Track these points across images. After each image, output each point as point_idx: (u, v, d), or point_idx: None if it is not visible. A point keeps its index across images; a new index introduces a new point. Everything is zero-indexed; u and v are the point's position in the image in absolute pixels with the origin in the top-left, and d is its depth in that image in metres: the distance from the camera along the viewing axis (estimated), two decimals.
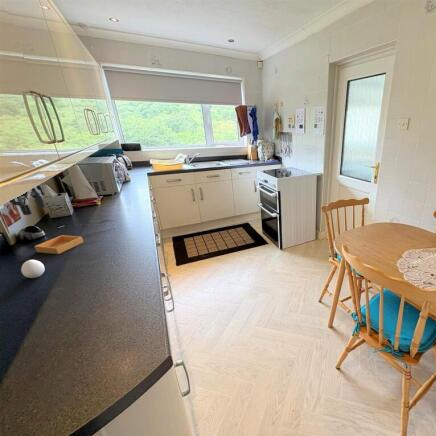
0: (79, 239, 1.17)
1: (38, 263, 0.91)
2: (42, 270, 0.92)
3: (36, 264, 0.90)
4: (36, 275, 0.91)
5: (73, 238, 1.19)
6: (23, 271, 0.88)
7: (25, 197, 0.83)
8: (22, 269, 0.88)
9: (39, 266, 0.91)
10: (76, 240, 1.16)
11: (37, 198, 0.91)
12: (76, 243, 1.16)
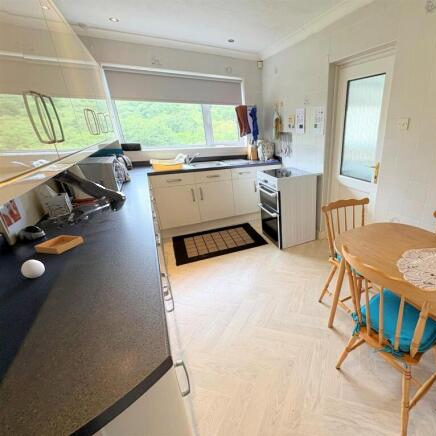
0: (79, 239, 1.17)
1: (38, 263, 0.91)
2: (42, 270, 0.92)
3: (36, 264, 0.90)
4: (36, 275, 0.91)
5: (73, 238, 1.19)
6: (23, 271, 0.88)
7: None
8: (22, 269, 0.88)
9: (39, 266, 0.91)
10: (76, 240, 1.16)
11: (52, 221, 1.00)
12: (76, 243, 1.16)
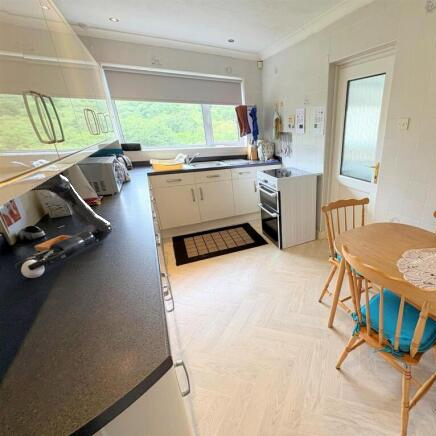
0: None
1: None
2: (42, 270, 0.92)
3: None
4: (36, 275, 0.91)
5: None
6: (23, 271, 0.88)
7: None
8: (22, 269, 0.88)
9: None
10: None
11: None
12: None
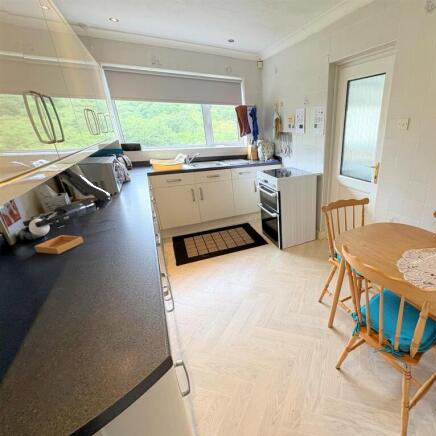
0: (79, 239, 1.17)
1: None
2: (47, 228, 1.01)
3: None
4: (42, 232, 1.00)
5: (73, 238, 1.19)
6: (30, 228, 0.98)
7: None
8: (29, 226, 0.98)
9: None
10: (76, 240, 1.16)
11: None
12: (76, 243, 1.16)
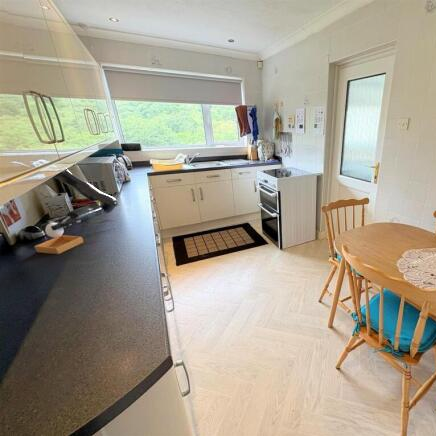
0: (79, 239, 1.17)
1: None
2: (62, 231, 1.12)
3: None
4: (57, 235, 1.11)
5: (73, 238, 1.19)
6: (47, 231, 1.09)
7: None
8: (46, 229, 1.09)
9: (60, 228, 1.11)
10: (76, 240, 1.16)
11: None
12: (76, 243, 1.16)
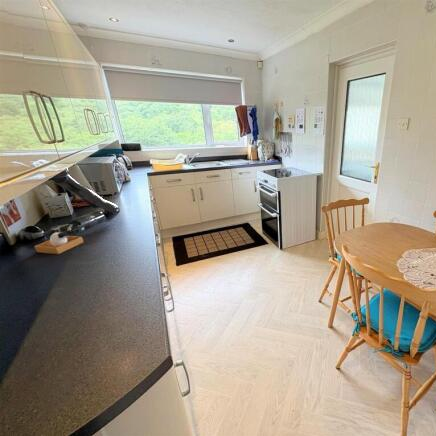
0: (79, 239, 1.17)
1: None
2: (66, 241, 1.14)
3: None
4: (61, 244, 1.13)
5: (73, 238, 1.19)
6: (51, 241, 1.11)
7: None
8: (50, 239, 1.11)
9: (64, 237, 1.13)
10: (76, 240, 1.16)
11: (53, 231, 1.14)
12: (76, 243, 1.16)
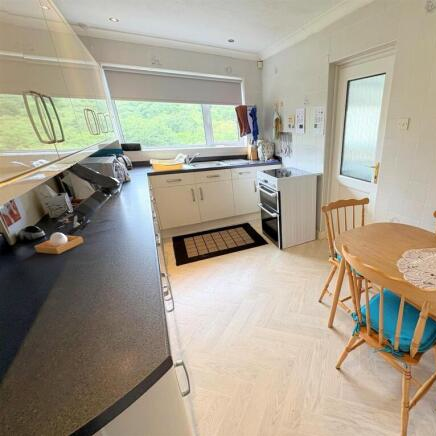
0: (79, 239, 1.17)
1: (63, 235, 1.13)
2: (66, 241, 1.14)
3: (61, 235, 1.13)
4: (61, 244, 1.13)
5: (73, 238, 1.19)
6: (51, 241, 1.11)
7: None
8: (50, 239, 1.11)
9: (64, 237, 1.13)
10: (76, 240, 1.16)
11: (61, 222, 1.16)
12: (76, 243, 1.16)
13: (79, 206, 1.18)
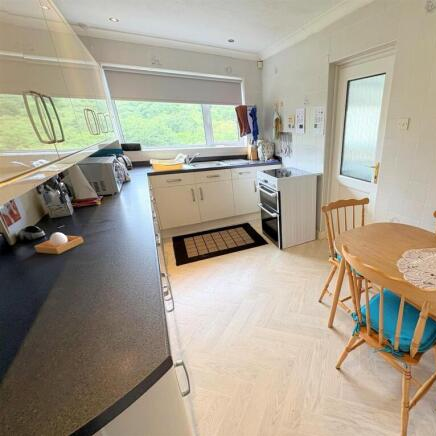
0: (79, 239, 1.17)
1: (63, 235, 1.13)
2: (66, 241, 1.14)
3: (61, 235, 1.13)
4: (61, 244, 1.13)
5: (73, 238, 1.19)
6: (51, 241, 1.11)
7: None
8: (50, 239, 1.11)
9: (64, 237, 1.13)
10: (76, 240, 1.16)
11: (46, 195, 1.09)
12: (76, 243, 1.16)
13: None
